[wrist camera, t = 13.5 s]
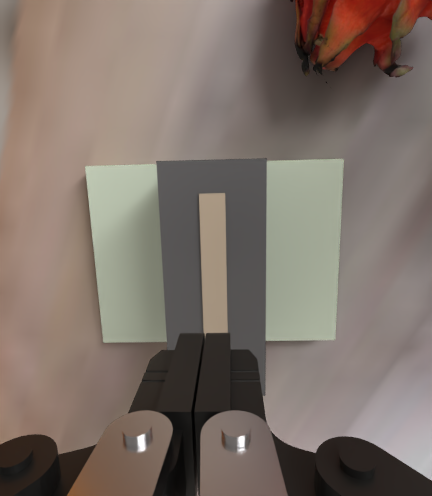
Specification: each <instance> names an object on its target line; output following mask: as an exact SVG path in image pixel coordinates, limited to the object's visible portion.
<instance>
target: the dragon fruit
mask: <svg viewBox="0 0 432 496" xmlns="http://www.w3.org/2000/svg"><path fill="white" fill-rule="evenodd" d="M290 1H291V2H293V0H290ZM295 3H296V17H297V23H296V31H295V46H296V50H297V54H298V56H299V58H300V59H301V60H303V62H302V70H303V72H304V74H305V76H308V75H309V73H310V71H309V61H308V56H309V55H310V54H311V55H310V61H311V62H312V63H313V64H314V67H313V70H314V71H315V72H316V70H317V71H318V72H319V73H320V74H321V75H322V69H326V70H328V71H329V70H331V71H337V70H338V67H339V66H340V65H341V64H343V62H344V61H345V60H346V59H347V58H348V57H349V56H350V55H351V54H352V53H353V52H354V51H355V50H357V49H358V48H359V47H361V46H362V45H364V44H366V43H368V44H371V45H373V46H374V50H375V51H374V60H373V64H374V66H376V64H377V65H378V67H379V68H380V69H381V70H383V71H384V73H386V74H387V75H389V77H394V76H395V77H400V76H403V75H404V74H406V73H407V72H409V71H410V70H412V69H413V67H409V66H408V65H403V66H401V65H397V64H396V63H395V61H396V60H398V58H399V57H400V55H401V41H400V38H403V37H404V36H406V35H407V34H408V33H410V31H411V30H412V28H413V26H414V24H415V22H416V20H417V18H419V17H428V18H429V19H431V20H432V0H295ZM314 44H316V46H315V49H314V51H313V52H312V47H313V45H314ZM311 52H312V53H311ZM316 74H317V73H316ZM326 83H327V82H326Z"/></svg>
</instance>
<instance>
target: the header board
mask: <svg viewBox="0 0 432 496" xmlns="http://www.w3.org/2000/svg"><path fill="white" fill-rule="evenodd" d="M343 167H344V159H316V160H281V161H267V207H266V341H302V340H335V335H336V314H337V293H338V272H339V251H340V230H341V209H342V188H343ZM85 170H86V180H87V190H88V199H89V209H90V219H91V228H92V238H93V248H94V257H95V267H96V277H97V286H98V296H99V306H100V316H101V325H102V335H103V343H115V342H167V336H166V319H165V302H164V284H163V267H162V250H161V233H160V215H159V198H158V181H157V164H143V165H108V166H85Z"/></svg>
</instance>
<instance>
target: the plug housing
mask: <svg viewBox="0 0 432 496" xmlns="http://www.w3.org/2000/svg"><path fill="white" fill-rule="evenodd" d="M156 164H157V181H158V198H159V215H160V233H161V250H162V267H163V284H164V302H165V319H166V336H167V350H175V347H176V344H177V341H178V337H179V334H180V333H204V334H205V336H206V333H230V339H231V349H249V350H250V351H251V352H252V354H253V355H254V356H255V357H256V358H257V361H258V368H259V375H260V382H261V389H262V396H265V362H266V207H267V158H265V159H225V160H186V161H156Z"/></svg>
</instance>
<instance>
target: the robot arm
mask: <svg viewBox="0 0 432 496" xmlns="http://www.w3.org/2000/svg"><path fill="white" fill-rule="evenodd" d="M197 491H198V494H199V496H432V481H431V480H430V479H428V478H426V477H425V476H423V475H422V474H420V473H419V472H417V471H415V470H414V469H412V468H411V467H409V466H408V465H406V464H404V463H403V462H401V461H400V460H398V459H397V458H395V457H394V456H392V455H390V454H389V453H387V452H386V451H384V450H383V449H381V448H379V447H378V446H376V445H374V444H372V443H370V442H368V441H365V440H362V439H359V438H354V437H335V438H331V439H328V440H327V441H325V442H323V443H322V444H321V445H320V446H319V448H318V449H317V451H316V453H313V452H309V451H305V450H302V449H298V448H295V447H292V446H290V445H288V444H286V443H284V442H283V441H281V440H280V439H278V438H277V437H276V436H275V435H274V434H273V433H272V432H271V430H270V428H269V426H268V425H267V422H266V417H265V410H264V403H263V396H262V389H261V382H260V375H259V368H258V361H257V358H256V357H255V356H254V355H253V354H252V352H251V351H250V350H249V349H231V339H230V333H206V336H205V334H204V333H180V334H179V337H178V341H177V344H176V347H175V350H161V351H160V352H159V353H158V354H157V355H155V356H154V357H153V358H152V359H151V360H150V362H149V365H148V367H147V369H146V373H145V374H144V377H143V379H142V382H141V384H140V386H139V389H138V391H137V393H136V396H135V398H134V400H133V403H132V405H131V408H130V410H129V412H128V414H126V415H123V416H121V417H119V418H118V419H116V420H115V421H113V422H112V423H111V424H110V425H109V426H108V427H107V428H106V430H105V431H104V433H103V435H102V436H101V438H100V440H99V441H98V443H97V444H96V445H94V446H91V447H87V448H84V449H80V450H76V451H72V452H67V453H63V454H59V455H58V450H57V445H56V443H55V441H54V440H53V439H51V438H50V437H48V436H45V435H36V434H34V435H26V436H21V437H18V438H15V439H12V440H9V441H7V442H5V443H3V444H1V445H0V496H197Z"/></svg>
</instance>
